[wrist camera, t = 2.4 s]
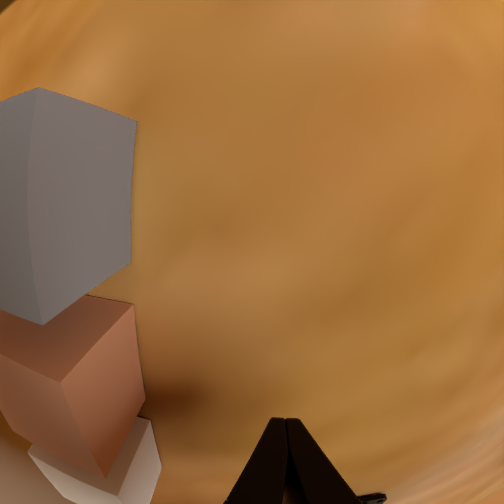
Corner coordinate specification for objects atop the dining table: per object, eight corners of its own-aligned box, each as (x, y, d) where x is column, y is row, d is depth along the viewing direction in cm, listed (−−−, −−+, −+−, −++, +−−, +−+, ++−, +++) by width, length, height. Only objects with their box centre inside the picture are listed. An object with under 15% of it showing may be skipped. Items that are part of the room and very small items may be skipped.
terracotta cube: (145, 398, 10) (105, 478, 6) (63, 372, 10) (12, 430, 6) (133, 304, 9) (60, 382, 5) (42, 284, 9) (-34, 332, 5)
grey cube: (131, 262, 9) (42, 325, 4) (37, 249, 9) (-47, 287, 4) (136, 121, 8) (38, 87, 3) (38, 133, 8) (-53, 128, 3)
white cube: (161, 467, 12) (141, 529, 7) (92, 445, 12) (63, 497, 8) (150, 420, 11) (117, 496, 6) (70, 394, 11) (27, 452, 6)
